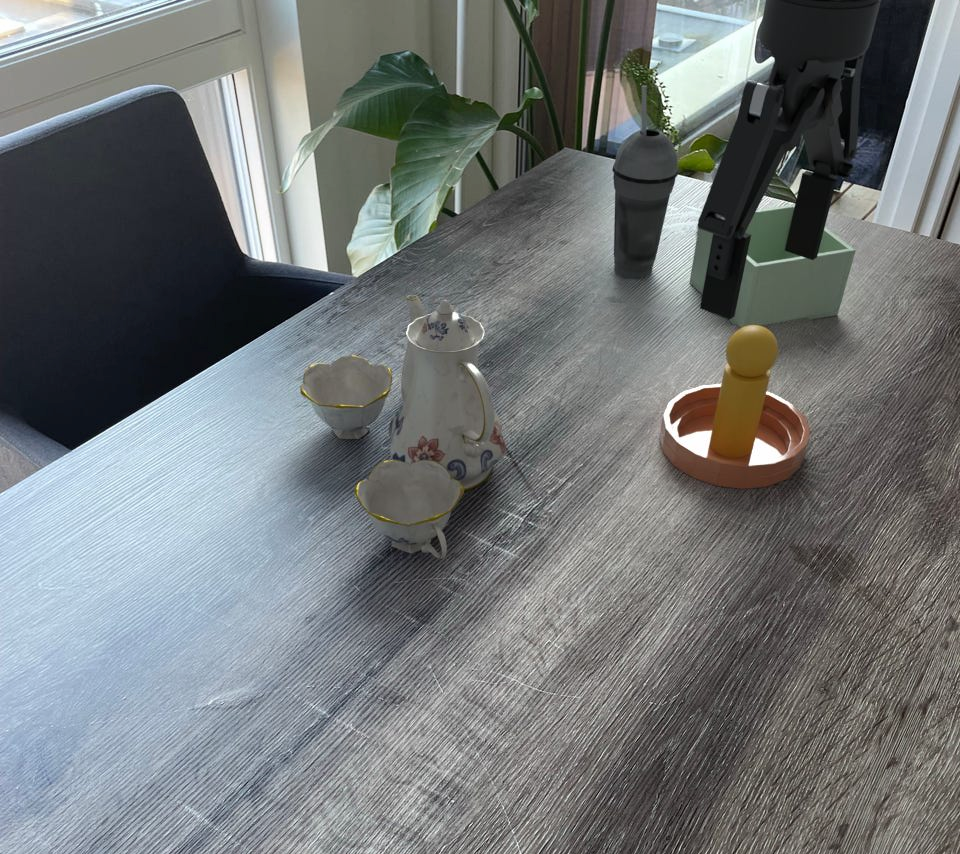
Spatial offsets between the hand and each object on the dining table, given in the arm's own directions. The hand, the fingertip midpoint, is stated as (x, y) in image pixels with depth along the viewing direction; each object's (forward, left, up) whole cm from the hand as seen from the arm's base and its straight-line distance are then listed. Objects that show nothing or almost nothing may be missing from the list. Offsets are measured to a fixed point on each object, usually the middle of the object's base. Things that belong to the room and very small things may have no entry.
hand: (760, 282), depth 85 cm
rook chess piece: (-22, -42, -17) cm, 50 cm away
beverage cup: (-8, -36, -17) cm, 41 cm away
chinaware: (+28, -6, -17) cm, 34 cm away
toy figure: (-1, 0, -16) cm, 16 cm away
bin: (-19, -25, -17) cm, 36 cm away
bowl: (-1, 0, -17) cm, 17 cm away
